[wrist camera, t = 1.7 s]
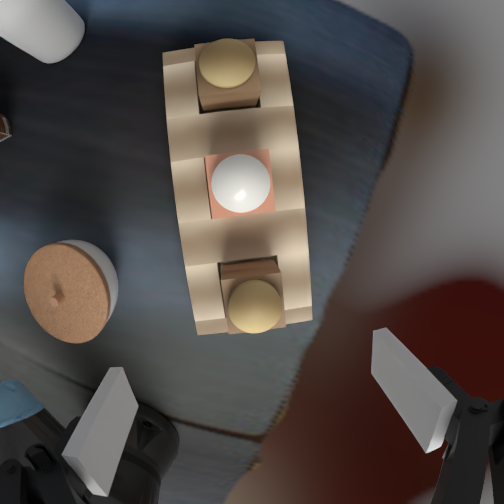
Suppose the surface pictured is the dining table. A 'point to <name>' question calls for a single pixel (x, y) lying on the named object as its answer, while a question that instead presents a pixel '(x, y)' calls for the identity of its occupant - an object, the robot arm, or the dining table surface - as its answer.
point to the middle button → (240, 183)
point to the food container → (4, 128)
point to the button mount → (197, 193)
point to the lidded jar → (71, 289)
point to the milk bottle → (41, 27)
